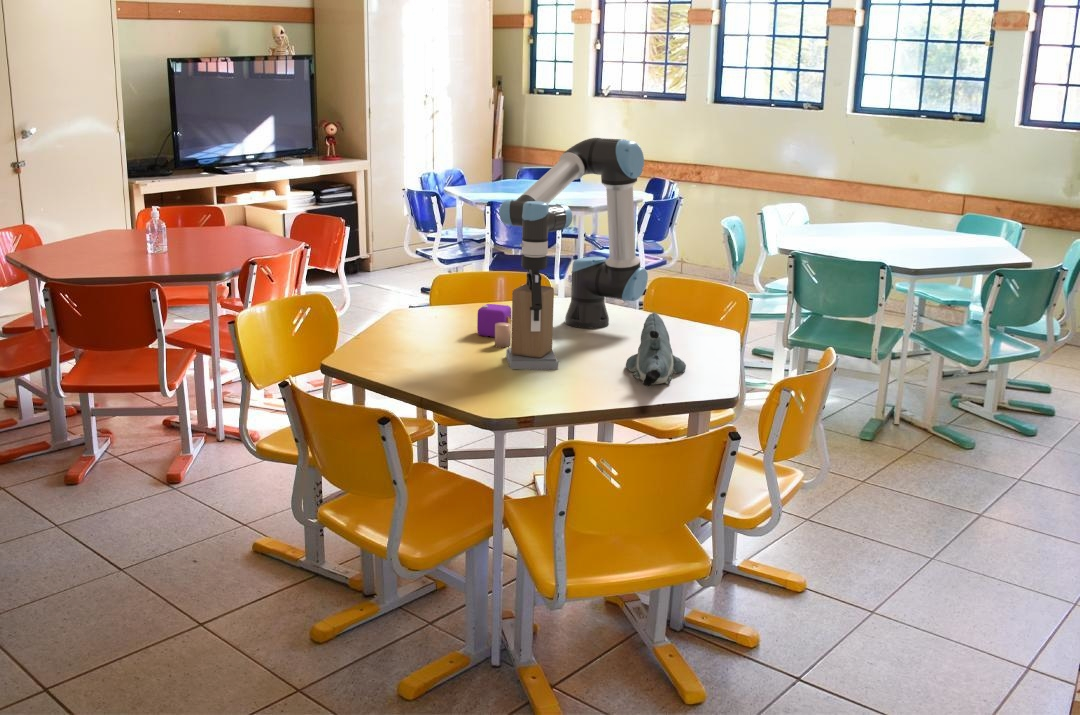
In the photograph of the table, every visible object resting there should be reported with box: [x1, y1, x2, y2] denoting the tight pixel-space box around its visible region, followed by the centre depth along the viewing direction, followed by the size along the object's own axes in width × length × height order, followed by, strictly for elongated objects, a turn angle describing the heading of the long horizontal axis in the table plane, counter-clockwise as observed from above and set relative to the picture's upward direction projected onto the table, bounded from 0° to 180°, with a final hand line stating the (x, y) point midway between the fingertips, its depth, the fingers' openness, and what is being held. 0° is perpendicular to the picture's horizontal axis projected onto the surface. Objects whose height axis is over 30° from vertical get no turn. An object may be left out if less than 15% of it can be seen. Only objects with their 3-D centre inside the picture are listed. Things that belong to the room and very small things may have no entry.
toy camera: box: [476, 303, 512, 338], centre depth 348 cm, size 11×14×10 cm
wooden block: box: [510, 283, 555, 358], centre depth 313 cm, size 10×10×20 cm
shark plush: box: [625, 312, 687, 387], centre depth 299 cm, size 18×39×16 cm, turn 162°
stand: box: [505, 347, 559, 370], centre depth 316 cm, size 14×14×3 cm
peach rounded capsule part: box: [494, 323, 512, 348], centre depth 333 cm, size 5×5×7 cm
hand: (532, 325), depth 313 cm, fingers open, 13 cm apart
